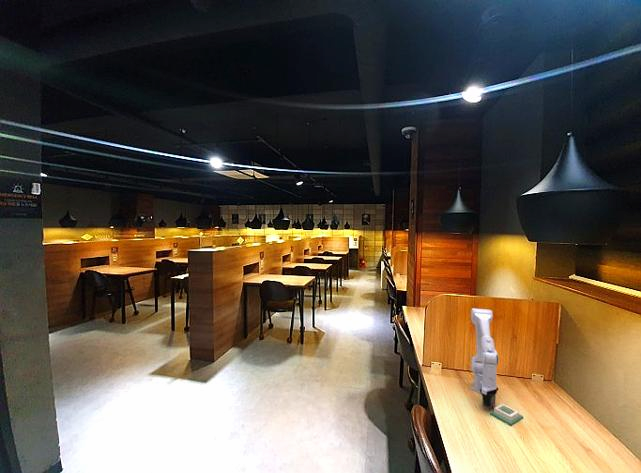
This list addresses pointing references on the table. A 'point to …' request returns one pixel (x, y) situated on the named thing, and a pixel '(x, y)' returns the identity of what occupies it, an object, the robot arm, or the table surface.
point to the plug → (492, 404)
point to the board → (505, 418)
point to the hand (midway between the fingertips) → (488, 403)
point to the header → (510, 417)
